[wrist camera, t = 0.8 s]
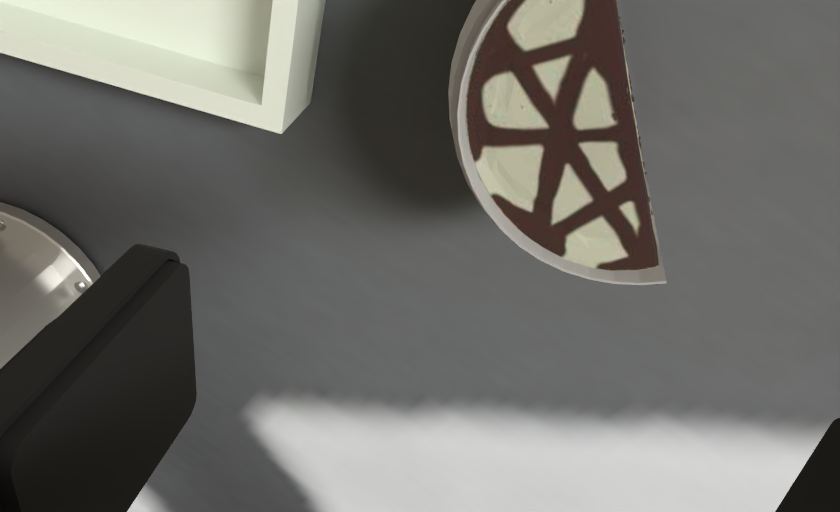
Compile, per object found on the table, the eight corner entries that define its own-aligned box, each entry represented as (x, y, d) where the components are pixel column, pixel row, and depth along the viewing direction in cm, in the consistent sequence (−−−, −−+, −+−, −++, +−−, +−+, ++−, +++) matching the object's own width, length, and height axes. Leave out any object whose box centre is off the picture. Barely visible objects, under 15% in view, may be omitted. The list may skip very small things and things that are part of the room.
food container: (441, -72, 29) (387, -27, 21) (596, -120, 27) (606, -92, 19) (512, 198, 35) (491, 320, 26) (644, 173, 33) (668, 296, 24)
